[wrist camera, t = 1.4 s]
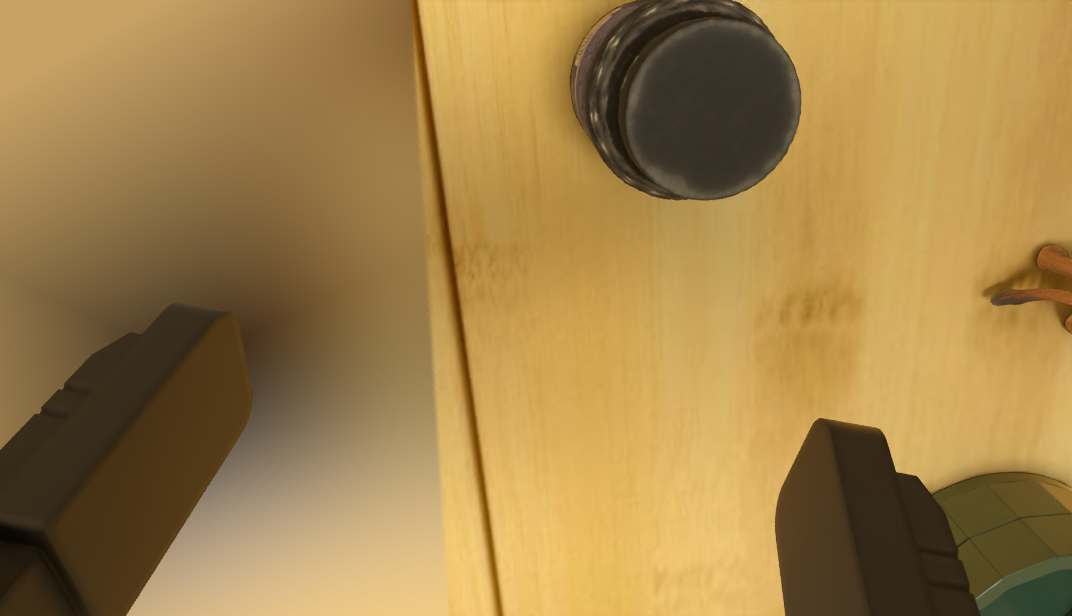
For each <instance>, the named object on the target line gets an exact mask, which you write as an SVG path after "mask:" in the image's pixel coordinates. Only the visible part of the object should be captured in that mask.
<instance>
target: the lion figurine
mask: <svg viewBox="0 0 1072 616" xmlns="http://www.w3.org/2000/svg"><path fill="white" fill-rule="evenodd" d="M1037 264H1038V266H1039V267H1040V268H1042V269H1045V270H1047V271H1052V272H1056V273H1059V274H1061V275H1063V276H1066V277H1069V278H1072V258H1069V257H1068V253H1067V252H1066V251H1065V250H1064V249H1063V248H1062V247H1061V246H1057V245H1049V246H1046V247H1044V248H1043V249H1042V250H1041V251H1040V253H1039V255H1038V259H1037ZM1038 300H1049V301H1057V302H1061V303H1065V304H1069V305H1072V292H1071V291H1066V290H1058V289H1031V290H1014V289H1005V290H1004V291H1002V292H999V293H996V294H995V295H993V296H992V298H991V303H992V304H993V305H997V306H998V305H1010V304H1012V305H1018V304H1023V303H1026V302H1031V301H1038ZM1065 327H1066V329H1067V330H1068V331H1069V332H1070V333H1071V334H1072V315H1070V316H1069V317H1068V318H1067V321H1066V323H1065Z"/></svg>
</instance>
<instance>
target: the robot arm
mask: <svg viewBox="0 0 1072 616" xmlns="http://www.w3.org/2000/svg"><path fill="white" fill-rule="evenodd" d="M64 385H65V386H64V388H63V390H60V389H59V390H58V391H57V392H56V393H55V394H54V395H53V396H52V397H51V398H50V399H49V400H48V401H47V402H46V403H45V404H44V405H43V406H42V407H41V408H42V410H41V412H40V414H35V415H34V416H33V417H32V418H31V419H30V420H29V421H28V422H27V423H26V424H25V425H24V426H23V427H22V428H21V429H20V430H19V431H18V432H17V433H16V434H15V435H14V437H12V439H11V440H10V441H9V442H8V443H7V444H6V445H5V446H4V447H3V448H2V449H1V450H0V616H126V615H127V613H128V612H129V610H130V608H131V607H132V605H133V604H134V602H135V601H136V599H137V597H138V596H139V594H140V593H141V591H142V589H143V588H144V586H145V585H146V583H147V582H148V580H149V578H150V577H151V575H152V574H153V572H154V571H155V569H156V568H157V566H158V564H159V563H160V561H161V560H162V558H163V556H164V555H165V553H166V552H167V550H168V549H169V547H170V545H171V544H172V542H173V541H174V539H175V538H176V536H177V534H178V533H179V531H180V530H181V528H182V527H183V525H184V523H185V522H186V520H187V519H188V517H189V516H190V514H191V512H192V511H193V509H194V507H195V506H196V504H197V503H198V501H199V500H200V498H201V497H202V495H203V493H204V492H205V490H206V489H207V487H208V485H209V484H210V482H211V481H212V479H213V478H214V476H215V475H216V473H217V471H218V470H219V468H220V467H221V465H222V463H223V462H224V460H225V459H226V457H227V456H228V454H229V452H230V451H231V449H232V448H233V446H234V444H235V443H236V441H237V440H238V438H239V437H240V435H241V433H242V432H243V430H244V428H245V426H246V424H247V421H248V418H249V415H250V411H251V406H252V386H251V381H250V377H249V371H248V367H247V362H246V358H245V353H244V348H243V343H242V339H241V334H240V329H239V325H238V321H237V319H236V317H235V316H234V315H233V314H232V313H231V312H228V311H222V310H216V309H210V308H205V307H199V306H194V305H188V304H182V303H174V304H172V305H170V306H168V307H167V308H166V309H165V310H164V311H163V312H162V313H161V314H160V315H159V316H158V318H156V320H155V321H154V322H153V323H152V324H151V325H150V326H149V327H148V328H147V330H146V331H145V332H144V333H143V334H136V333H131V332H130V333H128V334H127V335H125V336H123V337H122V338H120V339H118V340H117V341H115V342H113V343H111V344H110V345H108V346H106V347H105V348H103V349H101V350H99V351H97V352H96V353H94V354H92V355H91V356H90V357H89V358H88V359H87V360H86V361H85V362H84V364H83V365H82V366H81V367H80V368H79V369H78V370H77V371H76V372H75V373H74V374H73V375H72V376H71V377H70V378H69V379H68V380H67V381H66V382H65V384H64ZM775 533H776V542H777V551H778V559H779V567H780V575H781V583H782V592H783V600H784V608H785V616H981V615H980V612H979V609H978V606H977V603H976V600H975V597H974V594H971V593H970V592H969V587H970V583H969V580H968V577H967V574H966V571H965V568H964V566H963V563H962V560H959V559H958V553H959V551H958V548H957V545H956V542H955V540H954V537H953V534H952V531H951V528H950V525H949V522H948V519H947V516H946V514H945V512H944V511H943V509H942V508H941V507H940V505H939V504H938V503H937V501H936V500H935V499H934V498H933V496H932V495H931V494H930V492H929V491H928V490H927V488H926V487H925V486H924V485H923V483H922V482H921V481H920V479H919V478H918V477H917V476H914V475H908V474H903V473H897V472H896V471H895V467H894V464H893V460H892V457H891V454H890V450H889V447H888V444H887V440H886V438H885V435H884V434H883V432H882V431H881V430H880V429H878V428H874V427H869V426H863V425H857V424H852V423H846V422H840V421H835V420H829V419H823V418H819V419H817V420H816V421H815V422H814V423H813V425H812V427H811V429H810V431H809V433H808V435H807V437H806V439H805V441H804V443H803V445H802V447H801V449H800V451H799V453H798V455H797V457H796V459H795V461H794V463H793V465H792V467H791V469H790V471H789V473H788V476H787V478H786V480H785V482H784V484H783V486H782V488H781V491H780V494H779V497H778V502H777V507H776V516H775Z"/></svg>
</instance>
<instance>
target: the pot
mask: <svg viewBox="0 0 1072 616" xmlns="http://www.w3.org/2000/svg"><path fill="white" fill-rule="evenodd" d="M932 496H933V498H934V499H935V500H936V501H937V503H938V504H939V505H940V507H941V508H942V509H943V511H944V512H945V514H946V516H947V519H948V522H949V525H950V528H951V531H952V534H953V537H954V540H955V542H956V545H957V548H958V551H959V553H958V559H959V560H962V563H963V566H964V568H965V571H966V574H967V577H968V580H969V583H970V587H969V592H970V593H971V594H974V597H975V600H976V603H977V606H978V609H979V612H980V615H981V616H1072V489H1071V488H1070V487H1068V486H1066V485H1064V484H1062V483H1061V482H1059V481H1056V480H1053V479H1050V478H1047V477H1044V476H1039V475H1034V474H1026V473H998V474H991V475H984V476H980V477H976V478H972V479H968V480H966V481H963V482H960V483H957V484H954V485H952V486H950V487H948V488H946V489H944V490H941V491H939V492H938V493H936V494H934V495H932Z"/></svg>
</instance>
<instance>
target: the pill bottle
mask: <svg viewBox="0 0 1072 616" xmlns="http://www.w3.org/2000/svg"><path fill="white" fill-rule="evenodd" d="M570 88H571V97H572V104H573V108H574V111H575V114H576V117H577V119H578V120H579V122H580V125H581V126H582V128H583V129H584V131H585V132H586V134H587V135H588V137H589V138H590V140H591V141H592V143H593V144H594V146H595V148H596V149H597V151H598V152H599V154H600V156H601V157H602V159H603V161H604V162H605V163H606V164H607V166H608V167H609V168H610V169H611V170H612V171H613V173H614V174H615V175H617V177H619V178H620V179H622V180H623V181H624V182H625V183H626V184H628V185H630V186H632V187H634V188H636V189H638V190H639V191H642V192H645V193H647V194H649V195H651V196H655V197H658V198H663V199H669V200H670V199H673V200H687V199H693V200H716V199H723V198H727V197H731V196H734V195H736V194H738V193H740V192H743V191H746V190H748V189H749V188H751V187H753V186H754V185H756V184H757V183H759V182H760V181H761V180H763V179H764V178H765V177H766V176H767V175H768V174H769V173H770V172H772V171H773V170H774V169H775V167H776V166H777V165H778V163H779V162H780V161H781V160H782V159H783V157H784V156H785V155H786V153H787V151H788V148H789V146H790V144H791V143H792V141H793V139H794V136H795V134H796V131H797V127H798V124H799V118H800V114H801V89H800V83H799V79H798V76H797V73H796V70H795V67H794V65H793V63H792V61H791V59H790V57H789V55H788V54H787V52H786V51H785V50H784V49H783V47H782V46H781V45H780V44H779V43H778V42H777V41H776V40H775V38H774V36H773V34H772V33H771V32H770V31H769V29H768V27H767V26H766V25H765V24H764V23H763V21H762V20H761V19H760V18H759V17H758V16H757V15H756V14H755V13H754V12H753V11H751V10H749V9H748V8H746V7H745V6H743V5H742V4H741V3H739V2H736V1H733V0H636V1H634V2H630V3H627V4H624V5H622V6H620V7H617V8H615V9H614V10H612V11H611V12H609V13H608V14H607V15H605V16H604V17H602V18H601V19H600V20H599V21H598V22H597V23H596V24H595V25H594V26H592V28H591V29H590V30H589V32H588V33H587V35H586V36H585V38H584V40H583V42H582V43H581V45H580V47H579V49H578V51H577V53H576V55H575V57H574V60H573V66H572V70H571V76H570Z"/></svg>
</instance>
